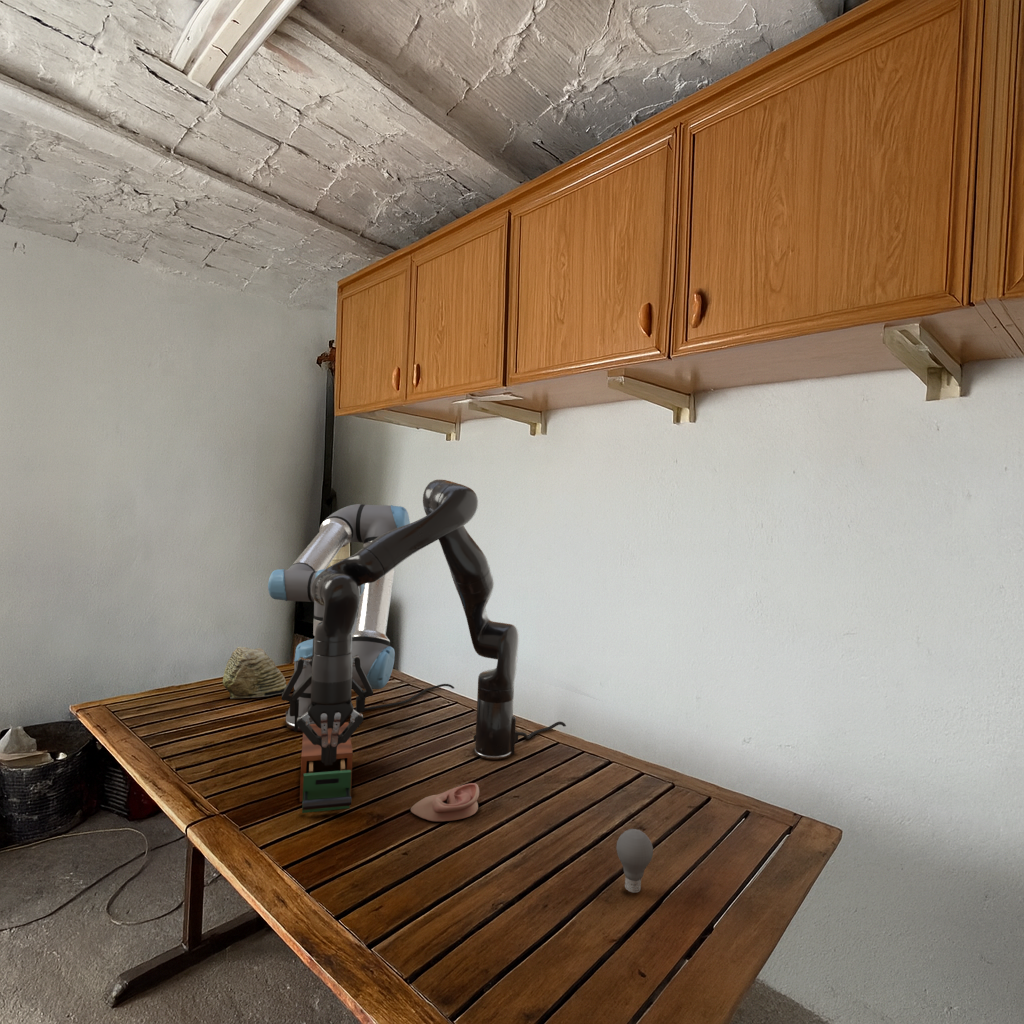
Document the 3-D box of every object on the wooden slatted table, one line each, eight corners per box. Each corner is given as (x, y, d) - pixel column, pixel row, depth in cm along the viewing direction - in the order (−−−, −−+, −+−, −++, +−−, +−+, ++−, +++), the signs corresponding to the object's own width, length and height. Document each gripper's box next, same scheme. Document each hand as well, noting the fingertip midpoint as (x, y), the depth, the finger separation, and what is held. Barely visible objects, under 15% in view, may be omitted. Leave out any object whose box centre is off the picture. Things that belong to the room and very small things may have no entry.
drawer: (351, 823, 122) (352, 785, 122) (301, 828, 119) (302, 789, 119) (346, 772, 144) (347, 739, 144) (304, 775, 141) (305, 742, 141)
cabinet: (350, 797, 134) (352, 752, 134) (299, 801, 131) (301, 756, 131) (347, 761, 152) (348, 721, 152) (302, 764, 149) (303, 724, 149)
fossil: (218, 695, 195) (220, 647, 195) (278, 685, 208) (279, 640, 207) (228, 703, 189) (230, 653, 188) (289, 692, 201) (290, 645, 201)
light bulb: (610, 879, 108) (613, 822, 108) (644, 879, 109) (647, 822, 109) (619, 902, 102) (622, 840, 102) (655, 901, 103) (658, 840, 103)
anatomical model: (405, 797, 126) (424, 773, 137) (404, 817, 126) (424, 792, 138) (469, 807, 124) (484, 782, 135) (468, 827, 124) (483, 800, 135)
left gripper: (271, 642, 139) (268, 737, 140) (386, 638, 146) (383, 729, 147) (273, 634, 146) (270, 725, 147) (383, 631, 153) (380, 717, 154)
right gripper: (295, 682, 117) (291, 775, 117) (368, 679, 120) (364, 769, 121) (296, 671, 124) (293, 759, 124) (365, 668, 128) (362, 754, 128)
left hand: (327, 727), depth 147 cm, fingers open, 13 cm apart
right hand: (328, 764), depth 122 cm, fingers closed
